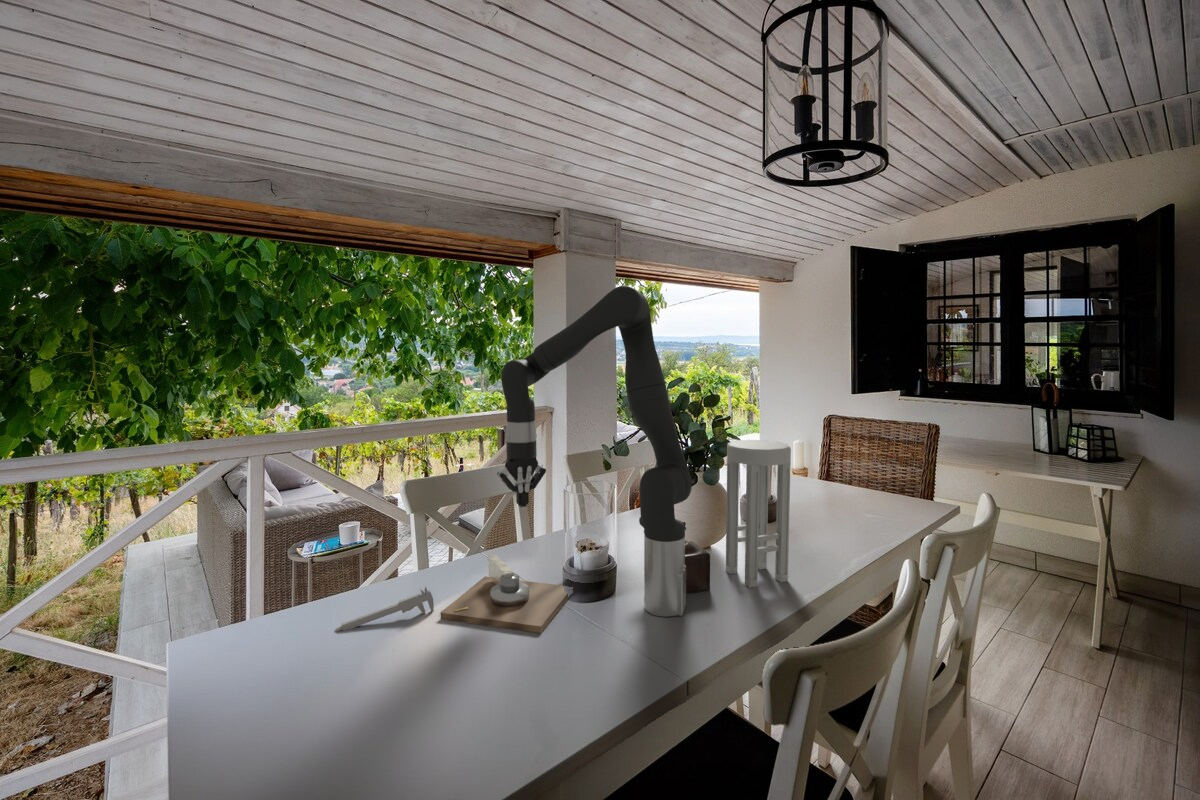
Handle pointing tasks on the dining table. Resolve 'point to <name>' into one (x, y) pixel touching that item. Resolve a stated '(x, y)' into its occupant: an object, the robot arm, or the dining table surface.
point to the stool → (758, 507)
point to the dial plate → (508, 607)
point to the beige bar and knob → (506, 584)
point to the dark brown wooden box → (695, 567)
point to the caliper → (392, 610)
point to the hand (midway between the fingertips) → (522, 506)
